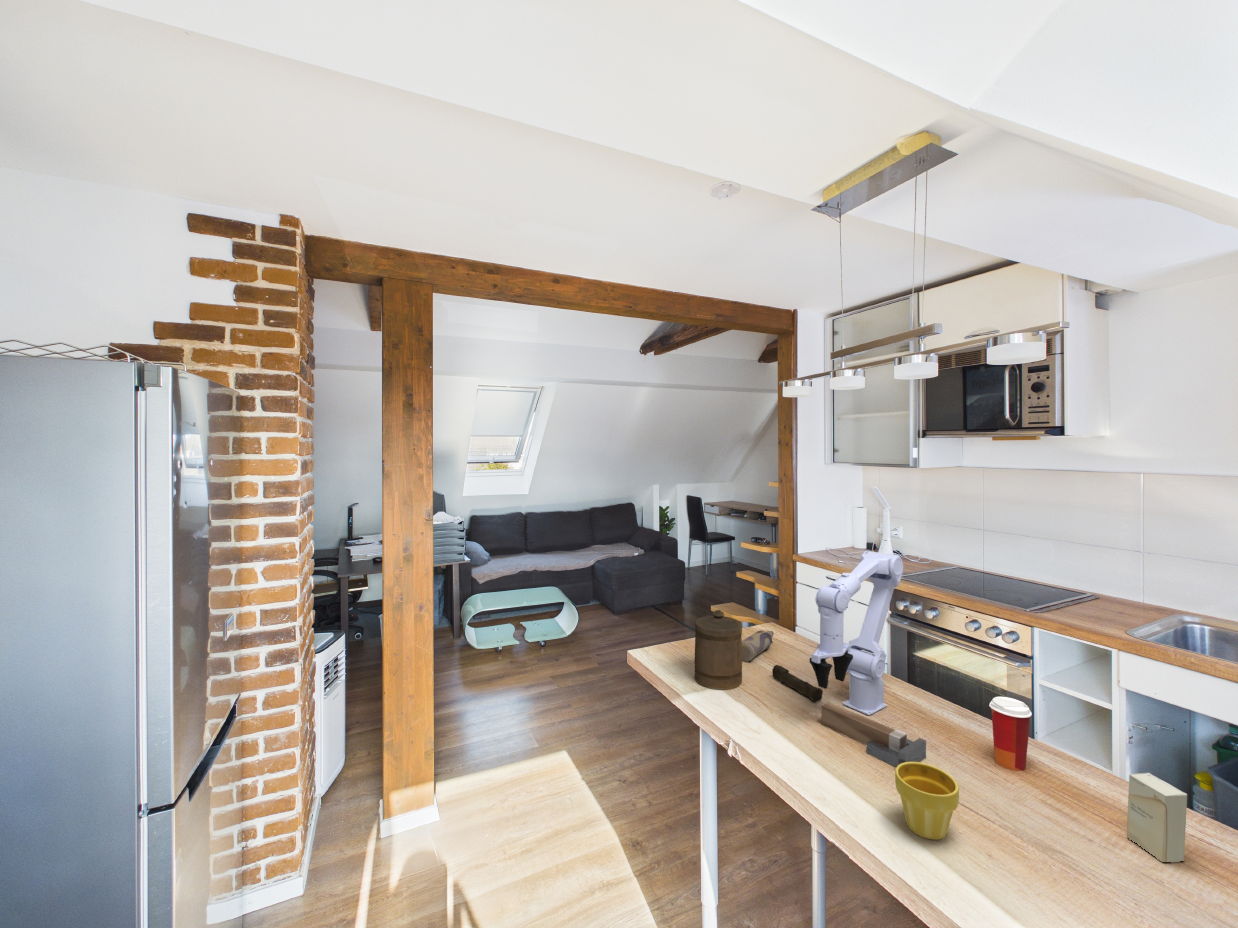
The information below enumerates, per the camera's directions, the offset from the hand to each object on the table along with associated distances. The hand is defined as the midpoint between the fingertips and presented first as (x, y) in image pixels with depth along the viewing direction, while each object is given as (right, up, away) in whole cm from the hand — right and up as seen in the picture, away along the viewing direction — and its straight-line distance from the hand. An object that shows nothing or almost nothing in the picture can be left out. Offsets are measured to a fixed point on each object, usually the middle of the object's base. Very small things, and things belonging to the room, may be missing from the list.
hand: (831, 683), depth 136 cm
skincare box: (+40, -11, -44) cm, 61 cm away
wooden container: (-25, -10, +27) cm, 38 cm away
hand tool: (-3, -11, +20) cm, 23 cm away
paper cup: (+33, -11, -18) cm, 40 cm away
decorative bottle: (-6, -10, +49) cm, 50 cm away
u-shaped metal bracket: (+9, -11, -15) cm, 20 cm away
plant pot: (+2, -11, -38) cm, 40 cm away
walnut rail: (+4, -11, -8) cm, 14 cm away
